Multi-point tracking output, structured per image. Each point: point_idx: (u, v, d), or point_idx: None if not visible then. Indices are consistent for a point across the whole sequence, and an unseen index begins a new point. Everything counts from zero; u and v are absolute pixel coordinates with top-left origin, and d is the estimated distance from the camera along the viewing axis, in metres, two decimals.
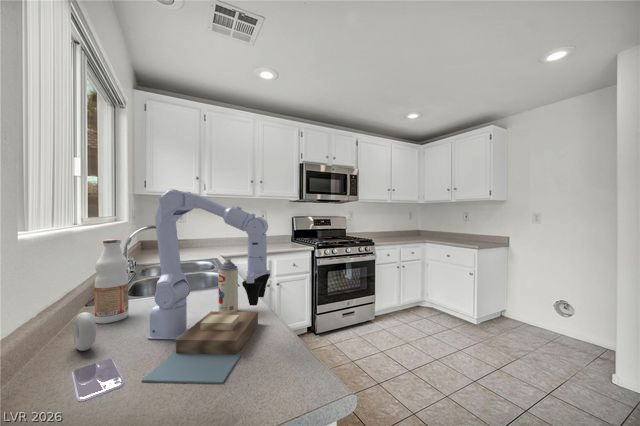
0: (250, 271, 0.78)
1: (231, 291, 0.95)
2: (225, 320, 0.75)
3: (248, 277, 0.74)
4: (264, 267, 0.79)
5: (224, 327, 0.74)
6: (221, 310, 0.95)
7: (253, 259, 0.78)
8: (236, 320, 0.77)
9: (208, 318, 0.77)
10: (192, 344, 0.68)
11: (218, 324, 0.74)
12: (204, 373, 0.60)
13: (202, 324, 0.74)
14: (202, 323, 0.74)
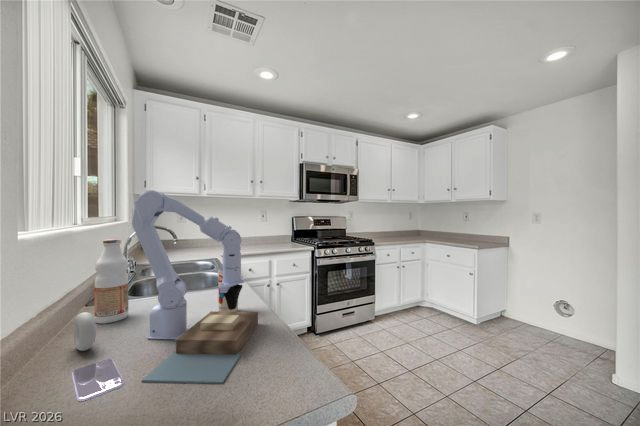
0: (225, 281, 0.84)
1: None
2: (225, 320, 0.75)
3: (221, 287, 0.79)
4: (238, 277, 0.85)
5: (224, 327, 0.74)
6: (221, 310, 0.95)
7: (227, 270, 0.83)
8: (236, 320, 0.77)
9: (208, 318, 0.77)
10: (192, 344, 0.68)
11: (218, 324, 0.74)
12: (204, 373, 0.60)
13: (202, 324, 0.74)
14: (202, 323, 0.74)
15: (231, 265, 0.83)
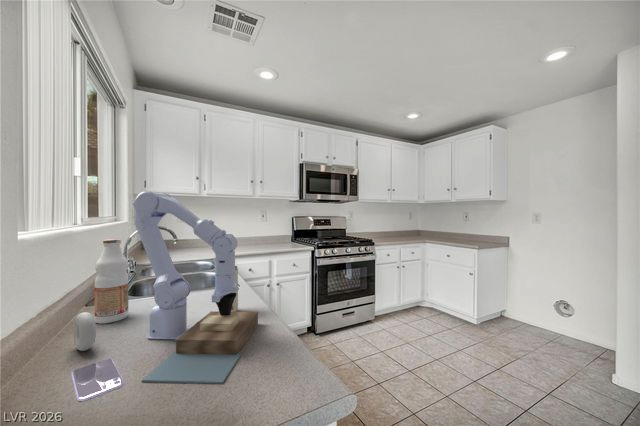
0: (217, 289, 0.78)
1: None
2: (225, 321, 0.75)
3: (213, 296, 0.73)
4: (232, 285, 0.79)
5: (224, 328, 0.73)
6: None
7: (220, 277, 0.78)
8: (236, 321, 0.77)
9: (207, 319, 0.77)
10: (192, 344, 0.68)
11: (217, 325, 0.74)
12: (204, 373, 0.60)
13: (201, 325, 0.74)
14: (201, 324, 0.74)
15: (221, 272, 0.78)
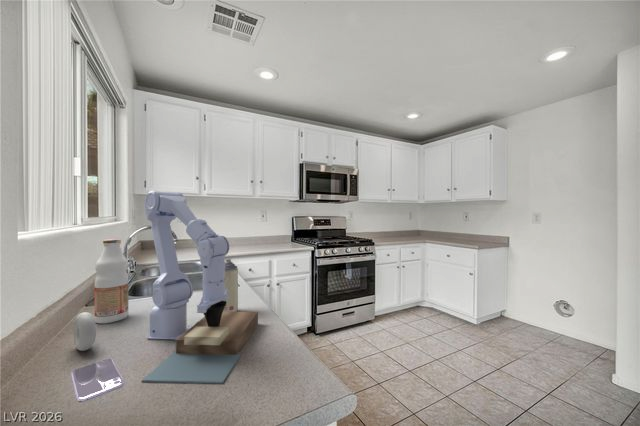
0: (204, 298, 0.70)
1: (231, 291, 0.95)
2: (213, 334, 0.67)
3: (199, 306, 0.65)
4: (221, 292, 0.71)
5: (211, 342, 0.65)
6: None
7: (208, 284, 0.70)
8: (225, 333, 0.69)
9: (193, 331, 0.69)
10: None
11: (204, 339, 0.65)
12: (204, 373, 0.60)
13: (186, 338, 0.66)
14: (186, 337, 0.66)
15: (205, 278, 0.70)
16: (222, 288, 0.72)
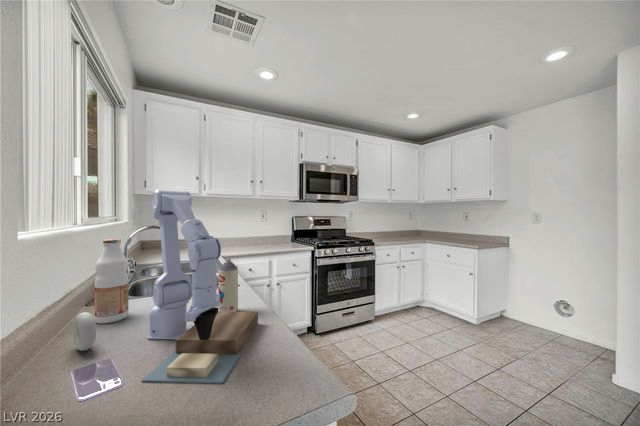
0: (194, 304, 0.65)
1: (231, 291, 0.95)
2: None
3: (187, 314, 0.60)
4: (212, 299, 0.66)
5: None
6: (221, 310, 0.95)
7: (197, 290, 0.65)
8: (211, 367, 0.61)
9: None
10: (192, 344, 0.68)
11: None
12: None
13: None
14: None
15: (193, 283, 0.65)
16: (213, 294, 0.67)
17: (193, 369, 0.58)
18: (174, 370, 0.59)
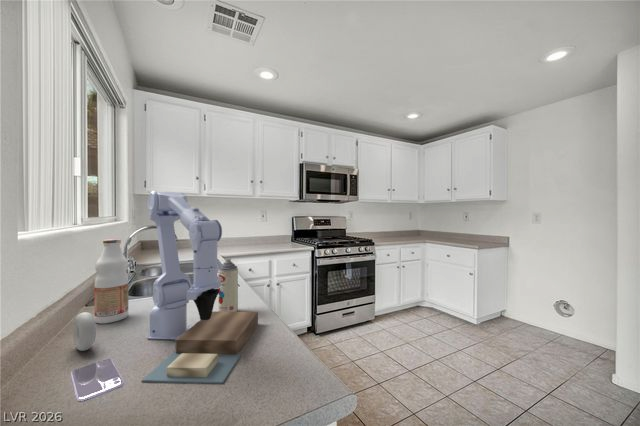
0: (195, 284, 0.66)
1: (231, 291, 0.95)
2: None
3: (188, 293, 0.61)
4: (213, 279, 0.67)
5: None
6: (221, 310, 0.95)
7: (198, 270, 0.66)
8: (211, 367, 0.61)
9: None
10: (192, 344, 0.68)
11: None
12: None
13: None
14: None
15: (194, 264, 0.66)
16: (214, 275, 0.67)
17: (193, 369, 0.58)
18: (174, 370, 0.59)
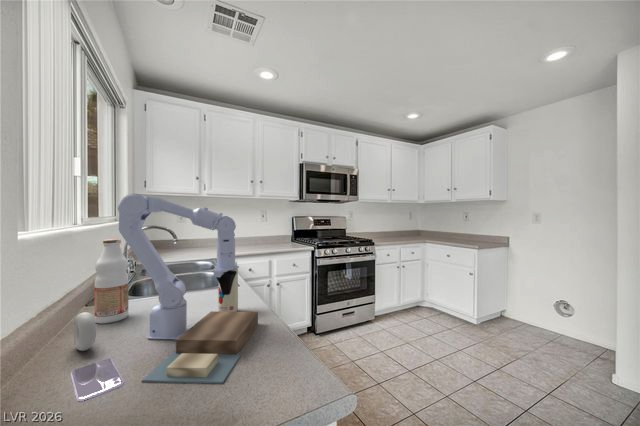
0: (219, 266, 0.84)
1: (231, 291, 0.95)
2: None
3: (215, 272, 0.79)
4: (232, 262, 0.85)
5: None
6: (221, 310, 0.95)
7: (221, 255, 0.83)
8: (211, 367, 0.61)
9: None
10: (192, 344, 0.68)
11: None
12: None
13: None
14: None
15: (225, 250, 0.84)
16: (233, 259, 0.85)
17: (193, 369, 0.58)
18: (174, 370, 0.59)
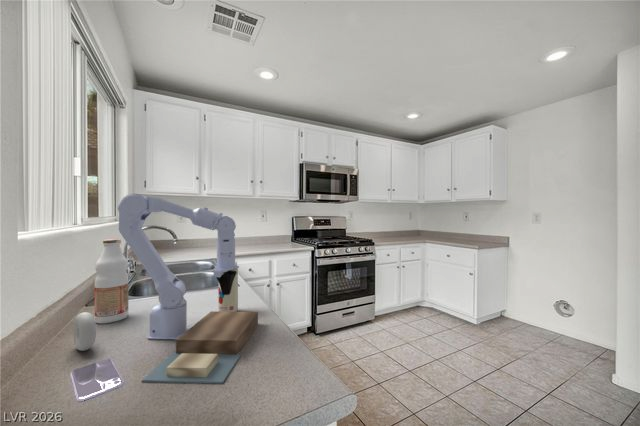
0: (219, 266, 0.84)
1: (231, 291, 0.95)
2: None
3: (215, 272, 0.79)
4: (232, 262, 0.85)
5: None
6: (221, 310, 0.95)
7: (221, 255, 0.83)
8: (211, 367, 0.61)
9: None
10: (192, 344, 0.68)
11: None
12: None
13: None
14: None
15: (225, 250, 0.84)
16: (233, 259, 0.85)
17: (193, 369, 0.58)
18: (174, 370, 0.59)
